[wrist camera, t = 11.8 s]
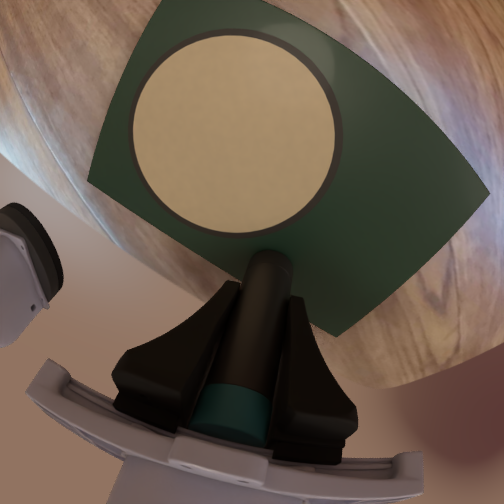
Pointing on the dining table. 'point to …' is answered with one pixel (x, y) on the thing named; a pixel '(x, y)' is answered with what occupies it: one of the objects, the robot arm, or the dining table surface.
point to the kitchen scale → (281, 155)
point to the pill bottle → (248, 356)
